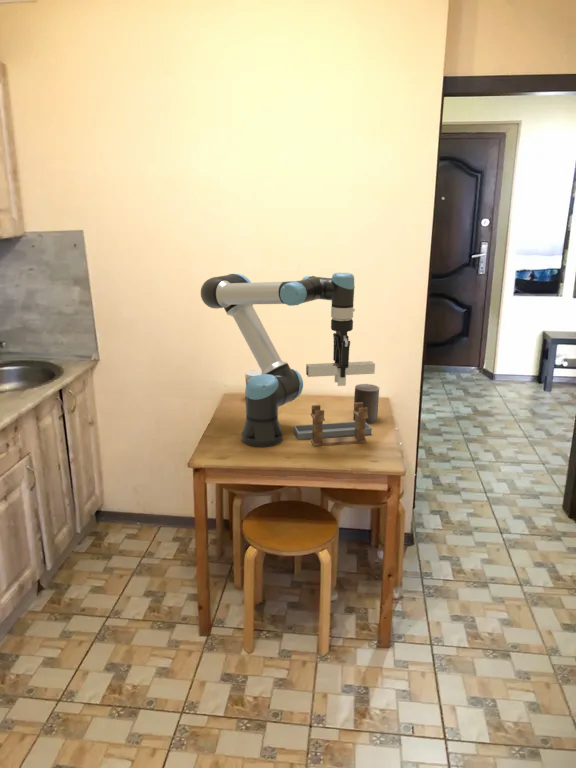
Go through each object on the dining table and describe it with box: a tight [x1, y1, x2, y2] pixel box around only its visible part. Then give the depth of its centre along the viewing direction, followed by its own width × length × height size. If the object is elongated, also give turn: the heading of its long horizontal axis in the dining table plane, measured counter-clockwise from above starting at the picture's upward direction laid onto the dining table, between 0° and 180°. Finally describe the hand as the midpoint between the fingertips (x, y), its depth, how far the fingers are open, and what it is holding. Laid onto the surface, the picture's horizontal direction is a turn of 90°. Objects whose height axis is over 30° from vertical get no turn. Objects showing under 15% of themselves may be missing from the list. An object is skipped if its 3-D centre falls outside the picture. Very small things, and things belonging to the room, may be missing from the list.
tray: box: [293, 421, 372, 441], centre depth 233 cm, size 28×8×2 cm, turn 101°
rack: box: [310, 402, 368, 447], centre depth 222 cm, size 20×7×14 cm, turn 101°
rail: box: [305, 360, 376, 378], centre depth 216 cm, size 24×4×4 cm, turn 101°
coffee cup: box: [244, 369, 262, 384], centre depth 269 cm, size 9×9×12 cm
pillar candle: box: [352, 383, 380, 425], centre depth 245 cm, size 10×10×15 cm
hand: (340, 383), depth 218 cm, fingers closed on rail, 4 cm apart
